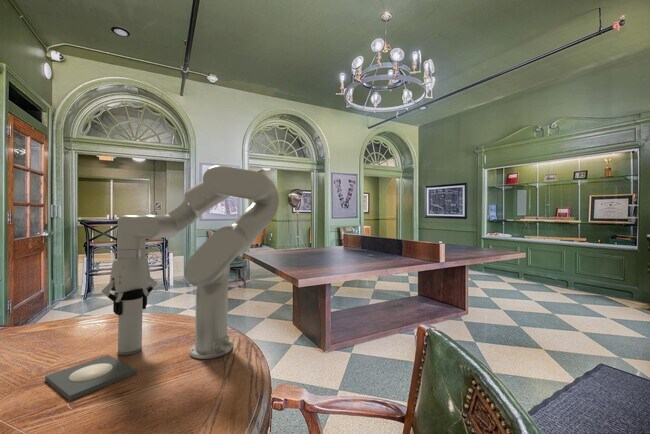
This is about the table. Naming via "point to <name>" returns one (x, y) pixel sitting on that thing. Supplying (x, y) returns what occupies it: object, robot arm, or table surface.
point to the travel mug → (130, 323)
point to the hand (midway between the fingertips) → (130, 310)
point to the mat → (89, 376)
